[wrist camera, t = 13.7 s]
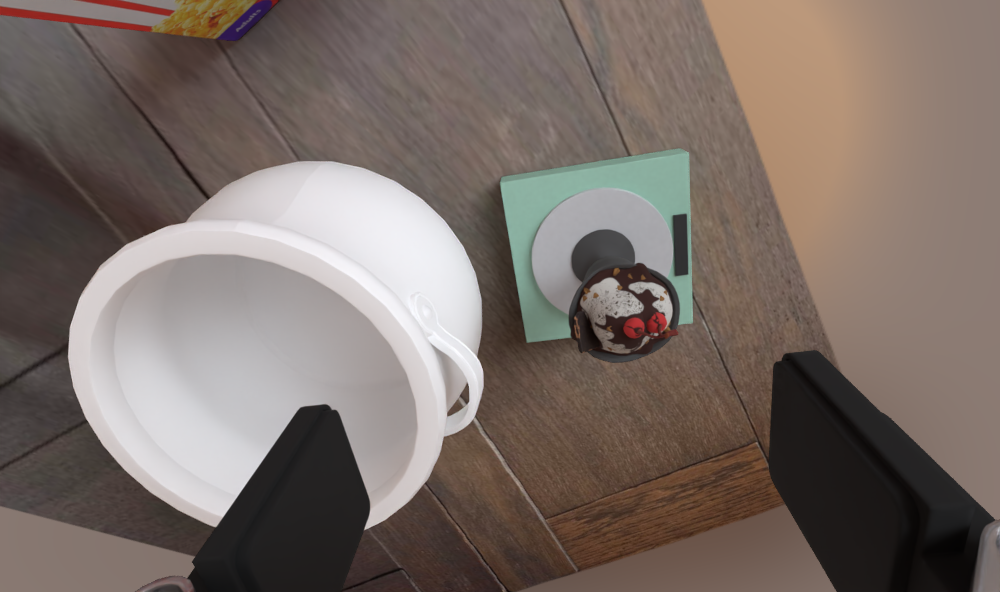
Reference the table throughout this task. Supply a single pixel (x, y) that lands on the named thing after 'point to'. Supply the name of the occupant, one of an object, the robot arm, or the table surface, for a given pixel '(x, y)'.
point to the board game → (150, 15)
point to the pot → (281, 336)
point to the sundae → (619, 301)
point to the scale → (595, 206)
